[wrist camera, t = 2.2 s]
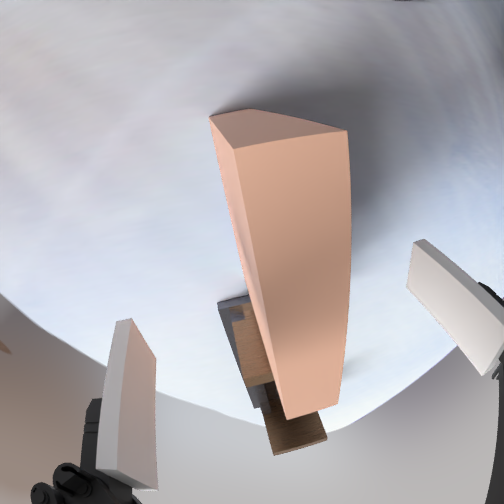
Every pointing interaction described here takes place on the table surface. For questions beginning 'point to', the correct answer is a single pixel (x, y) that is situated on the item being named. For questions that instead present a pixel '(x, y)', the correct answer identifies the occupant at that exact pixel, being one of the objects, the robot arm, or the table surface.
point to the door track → (265, 380)
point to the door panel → (292, 244)
